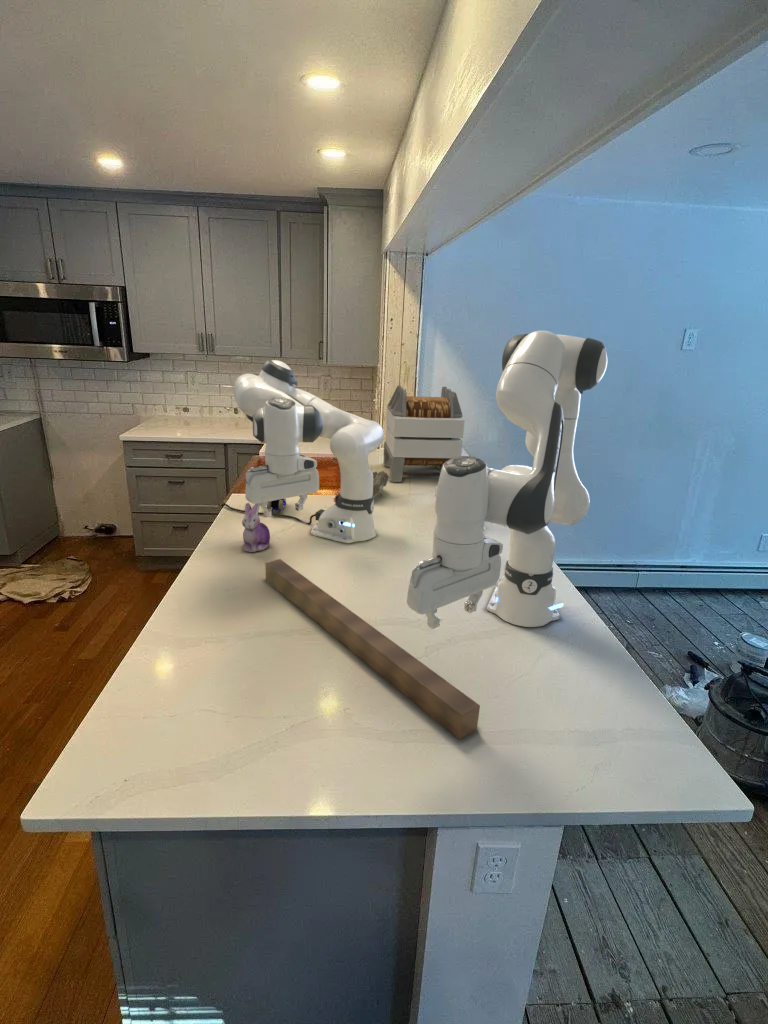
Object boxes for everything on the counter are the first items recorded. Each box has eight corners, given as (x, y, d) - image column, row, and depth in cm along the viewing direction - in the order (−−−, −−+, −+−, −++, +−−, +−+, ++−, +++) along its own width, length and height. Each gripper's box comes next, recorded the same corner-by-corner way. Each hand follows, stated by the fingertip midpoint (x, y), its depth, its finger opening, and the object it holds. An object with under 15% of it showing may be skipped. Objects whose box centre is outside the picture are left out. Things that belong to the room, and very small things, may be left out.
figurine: (246, 555, 177) (244, 510, 172) (238, 543, 186) (236, 499, 181) (275, 550, 181) (274, 506, 176) (266, 539, 190) (265, 496, 185)
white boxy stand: (382, 463, 289) (386, 382, 275) (445, 464, 293) (451, 384, 279) (390, 482, 257) (394, 392, 243) (460, 483, 261) (468, 394, 247)
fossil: (357, 477, 248) (384, 458, 243) (370, 494, 251) (397, 476, 246) (349, 498, 228) (379, 478, 223) (364, 515, 231) (393, 496, 226)
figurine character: (284, 518, 213) (289, 501, 226) (283, 500, 209) (288, 484, 223) (266, 517, 212) (272, 500, 226) (265, 499, 209) (271, 483, 223)
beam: (265, 580, 162) (265, 562, 160) (280, 576, 165) (280, 559, 163) (459, 739, 105) (462, 715, 103) (477, 729, 108) (480, 705, 106)
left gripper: (250, 471, 137) (253, 524, 142) (322, 460, 150) (322, 509, 154) (239, 465, 142) (242, 517, 147) (309, 455, 154) (310, 503, 159)
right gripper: (425, 571, 91) (421, 645, 96) (509, 542, 103) (501, 609, 108) (400, 557, 96) (397, 628, 100) (483, 531, 108) (477, 596, 112)
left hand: (283, 513), depth 151 cm, fingers open, 8 cm apart
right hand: (452, 618), depth 104 cm, fingers open, 8 cm apart
